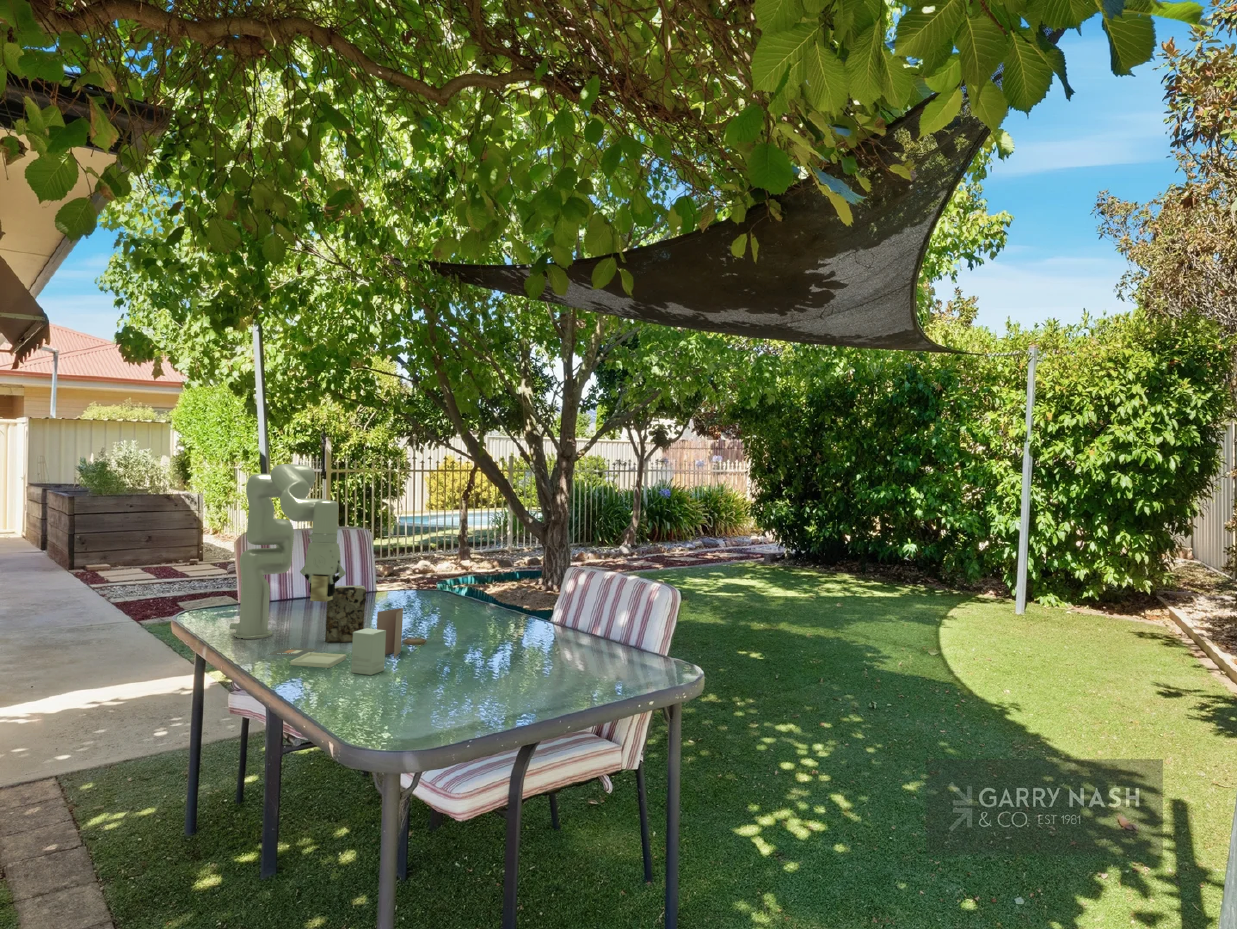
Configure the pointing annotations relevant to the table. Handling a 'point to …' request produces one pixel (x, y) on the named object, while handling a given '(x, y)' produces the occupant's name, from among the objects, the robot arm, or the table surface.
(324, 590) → the beech block
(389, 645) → the greeting card
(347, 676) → the table surface
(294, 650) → the tile
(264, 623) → the robot arm
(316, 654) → the cream tray
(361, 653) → the supplement box
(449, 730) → the table surface
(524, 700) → the table surface
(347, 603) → the stone block
